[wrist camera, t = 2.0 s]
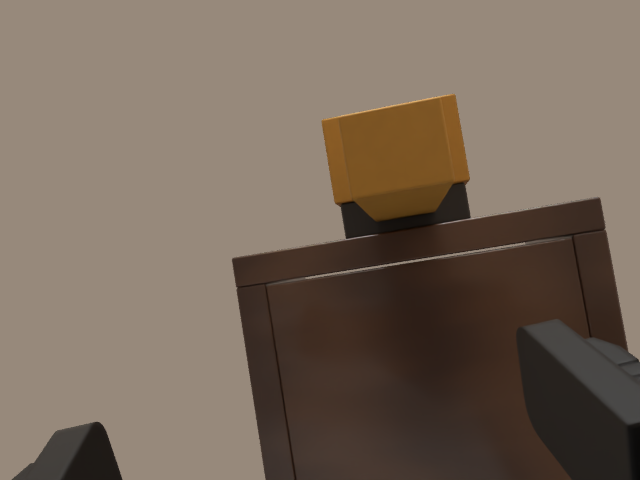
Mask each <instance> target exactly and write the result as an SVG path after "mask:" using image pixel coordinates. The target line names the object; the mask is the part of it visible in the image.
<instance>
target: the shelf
mask: <svg viewBox="0 0 640 480" xmlns="http://www.w3.org/2000/svg"><path fill="white" fill-rule="evenodd" d="M604 229H605V221H604V216H603V211H602V205H601V200H600V198H599V197H595V198H589V199H584V200H578V201H571V202H566V203H559V204H554V205H547V206H541V207H536V208H530V209H523V210H518V211H512V212H505V213H499V214H493V215H488V216H481V217H475V218H469V219H463V220H457V221H451V222H445V223H439V224H433V225H427V226H421V227H415V228H409V229H403V230H397V231H391V232H385V233H379V234H373V235H367V236H361V237H355V238H349V239H344V240H337V241H332V242H325V243H320V244H313V245H307V246H302V247H295V248H290V249H284V250H277V251H272V252H265V253H260V254H253V255H248V256H241V257H235V258H233V259H232V263H233V270H234V276H235V283H236V287H238V288H237V296H238V302H239V309H240V315H241V322H242V328H243V335H244V341H245V347H246V355H247V361H248V368H249V374H250V381H251V387H252V394H253V400H254V406H255V413H256V420H257V426H258V433H259V439H260V446H261V452H262V459H263V465H264V472H265V478H266V480H572V479H571V478H570V476H569V475H568V474H567V473H566V471H565V470H564V469H563V467H562V466H561V465H560V463H559V462H558V461H557V460H556V458H555V457H554V456H553V454H552V453H551V452H550V451H549V449H548V448H547V447H546V445H545V444H544V443H543V442H542V440H541V439H540V438H539V436H538V435H537V433H536V432H535V430H534V428H533V426H532V424H531V421H530V419H529V416H528V413H527V409H526V405H525V400H524V392H523V385H522V378H521V371H520V364H519V356H518V349H517V341H516V332H517V329H518V328H519V327H523V326H527V325H531V324H536V323H540V322H545V321H549V320H554V319H559V320H561V321H562V322H563V323H565V324H566V325H567V326H569V327H570V328H571V329H572V330H574V331H575V332H576V333H578V334H579V335H580V336H581V337H583V338H584V339H588V338H592V337H594V338H597V339H600V340H603V341H606V342H609V343H612V344H615V345H618V346H621V347H622V348H623V349H625V350H626V351H627V352H628V347H627V342H626V336H625V331H624V325H623V320H622V314H621V309H620V304H619V298H618V293H617V287H616V282H615V276H614V271H613V265H612V260H611V254H610V249H609V243H608V238H607V233H606V230H604ZM523 242H525V243H526V245H520V246H514V247H507V248H501V249H495V250H488V251H482V252H476V253H470V254H463V255H457V256H451V257H444V258H439V259H432V260H425V261H419V262H413V263H406V264H400V265H394V266H387V267H381V268H375V269H368V270H362V271H356V272H350V273H343V274H337V275H331V276H324V277H318V278H312V279H305V277H309V276H315V275H321V274H327V273H333V272H340V271H346V270H353V269H359V268H365V267H371V266H378V265H384V264H390V263H397V262H403V261H409V260H416V259H422V258H428V257H434V256H440V255H447V254H453V253H460V252H466V251H472V250H479V249H485V248H490V247H497V246H503V245H510V244H516V243H523Z"/></svg>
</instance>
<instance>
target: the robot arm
mask: <svg viewBox="0 0 640 480" xmlns="http://www.w3.org/2000/svg"><path fill="white" fill-rule="evenodd" d="M516 341H517V349H518V356H519V364H520V371H521V378H522V385H523V392H524V400H525V405H526V409H527V413H528V416H529V419H530V421H531V424H532V426H533V428H534V430H535V432H536V433H537V435H538V436H539V438H540V439H541V440H542V442H543V443H544V444H545V445H546V447H547V448H548V449H549V451H550V452H551V453H552V454H553V456H554V457H555V458H556V460H557V461H558V462H559V463H560V465H561V466H562V467H563V469H564V470H565V471H566V473H567V474H568V475H569V476H570V478H571V479H572V480H640V362H639V360H638V359H637V358H635V357H634V356H633V355H632V354H630V353H629V352H627V351H626V350H625V349H623V348H622V347H621V346H618V345H615V344H612V343H609V342H606V341H603V340H600V339H597V338H594V337H592V338H588V339H584V338H583V337H581V336H580V335H579V334H578V333H576V332H575V331H574V330H572V329H571V328H570V327H569V326H567V325H566V324H565V323H563V322H562V321H561V320H559V319H554V320H549V321H545V322H540V323H536V324H531V325H527V326H523V327H519V328H518V329H517V332H516ZM12 480H122V477H121V474H120V471H119V468H118V465H117V462H116V459H115V456H114V453H113V450H112V447H111V444H110V441H109V438H108V435H107V432H106V430H105V429H104V427H103V425H102V424H101V423H99V422H93V423H89V424H84V425H80V426H76V427H71V428H67V429H62V430H58V431H56V432H55V433H54V434H53V436H52V437H51V439H50V440H49V442H48V443H47V445H46V446H45V448H44V449H43V451H42V452H41V454H40V455H39V457H38V458H37V459H36V461H35V462H34V463H31V464H29V465H28V466H27V467H26V468H25V469H24V470H23V471H21V472H20V473H19V474H18V475H17V476H16V477H14V478H13V479H12Z"/></svg>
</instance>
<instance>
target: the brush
mask: <svg viewBox="0 0 640 480" xmlns="http://www.w3.org/2000/svg"><path fill="white" fill-rule="evenodd" d="M322 127H323V133H324V140H325V146H326V152H327V157H328V165H329V171H330V177H331V183H332V189H333V195H334V201H335V203H336V204H337V205H339V206H340V207H341V211H342V217H343V223H344V230H345V236H346V239H349V238H355V237H361V236H367V235H373V234H379V233H385V232H391V231H397V230H403V229H409V228H415V227H421V226H427V225H433V224H439V223H445V222H451V221H457V220H463V219H469V218H470V210H469V204H468V199H467V193H466V188H465V185H466V184H467V182H468V181H469V180H470V177H469V171H468V165H467V160H466V154H465V148H464V142H463V137H462V131H461V125H460V120H459V113H458V108H457V102H456V96H455V94H450V95H444V96H440V97H433V98H428V99H423V100H418V101H413V102H407V103H402V104H397V105H392V106H387V107H383V108H377V109H372V110H367V111H362V112H357V113H352V114H347V115H342V116H338V117H333V118H328V119H323V120H322Z"/></svg>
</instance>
